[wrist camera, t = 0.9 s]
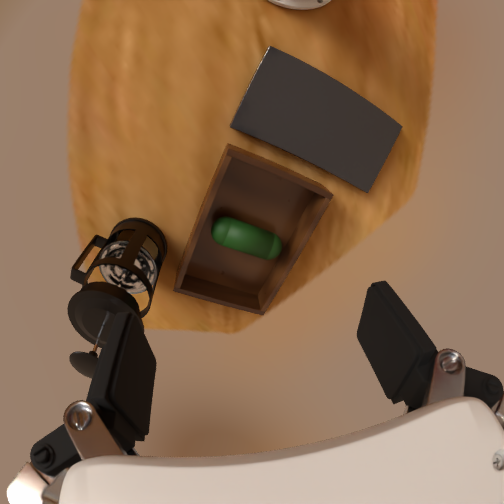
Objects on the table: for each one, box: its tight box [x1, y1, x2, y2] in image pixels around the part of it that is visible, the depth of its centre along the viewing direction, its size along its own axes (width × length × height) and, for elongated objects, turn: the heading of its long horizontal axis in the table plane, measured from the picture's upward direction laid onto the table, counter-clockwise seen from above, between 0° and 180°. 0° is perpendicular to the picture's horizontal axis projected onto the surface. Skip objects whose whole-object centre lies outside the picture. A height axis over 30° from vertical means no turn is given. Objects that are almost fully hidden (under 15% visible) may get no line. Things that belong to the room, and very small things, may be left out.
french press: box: [68, 218, 167, 378], centre depth 30 cm, size 12×9×23 cm
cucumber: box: [211, 216, 282, 260], centre depth 38 cm, size 4×10×4 cm, turn 66°
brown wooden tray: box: [173, 144, 333, 315], centre depth 39 cm, size 22×15×4 cm
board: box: [230, 46, 402, 193], centre depth 33 cm, size 12×22×2 cm, turn 66°
